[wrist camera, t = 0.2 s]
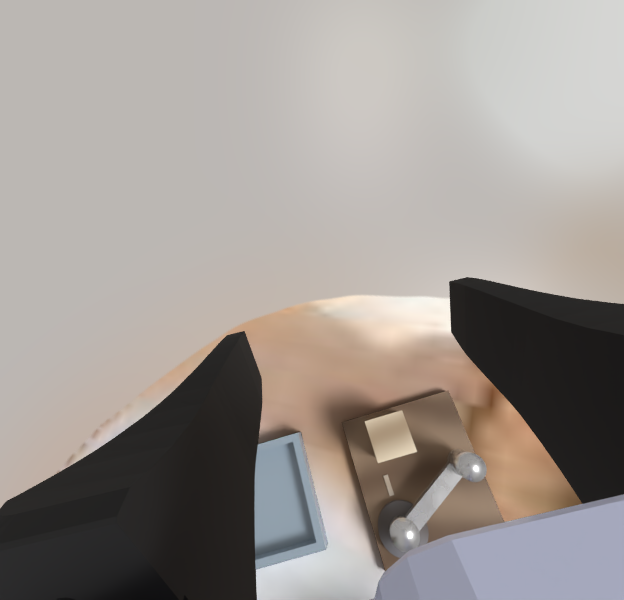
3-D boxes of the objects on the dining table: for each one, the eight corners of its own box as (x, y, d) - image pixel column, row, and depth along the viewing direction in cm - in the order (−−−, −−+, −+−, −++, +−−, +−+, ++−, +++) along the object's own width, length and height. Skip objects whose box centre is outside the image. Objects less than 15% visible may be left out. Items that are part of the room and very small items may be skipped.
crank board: (507, 536, 33) (515, 543, 31) (385, 570, 34) (386, 578, 32) (446, 391, 39) (450, 389, 37) (342, 422, 39) (341, 422, 38)
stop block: (410, 447, 36) (417, 451, 32) (376, 457, 36) (377, 463, 32) (397, 411, 38) (402, 410, 33) (364, 421, 38) (364, 421, 33)
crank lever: (405, 554, 32) (412, 575, 28) (383, 530, 33) (386, 546, 29) (477, 463, 34) (494, 469, 30) (454, 442, 35) (467, 445, 31)
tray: (327, 542, 35) (325, 549, 33) (227, 571, 36) (220, 579, 34) (300, 431, 40) (297, 432, 38) (211, 458, 40) (204, 460, 38)
